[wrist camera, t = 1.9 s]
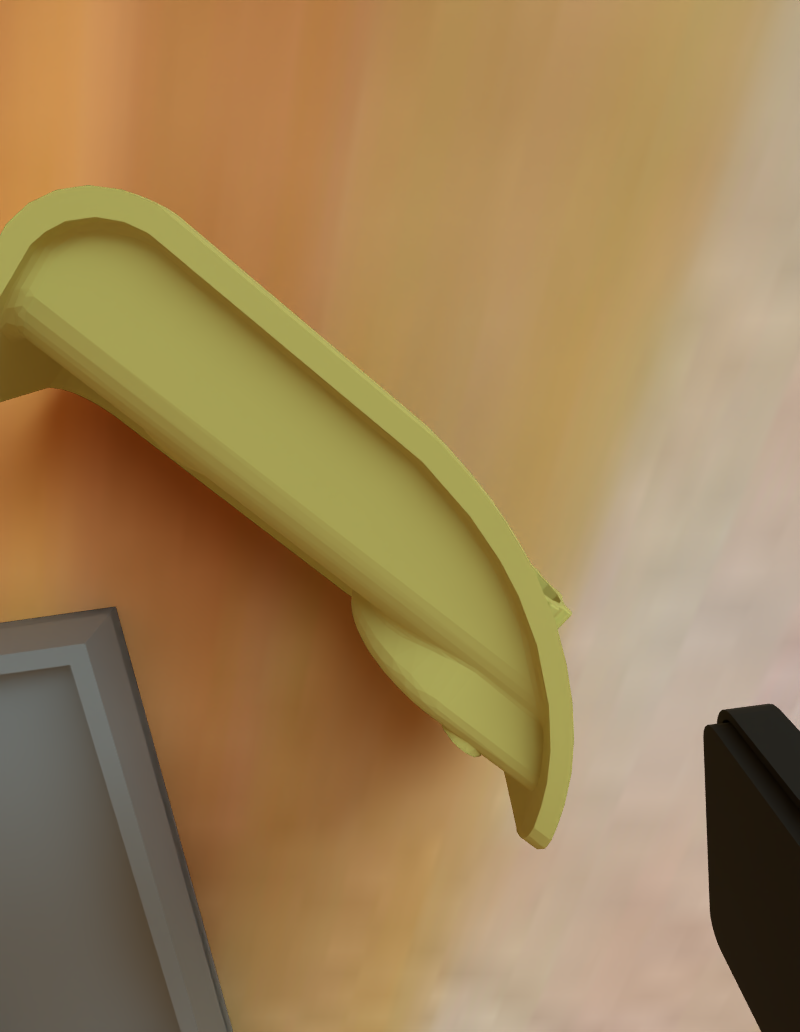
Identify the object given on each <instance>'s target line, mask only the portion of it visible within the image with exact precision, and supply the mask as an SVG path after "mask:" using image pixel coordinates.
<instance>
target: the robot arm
mask: <svg viewBox="0 0 800 1032" xmlns="http://www.w3.org/2000/svg"><path fill="white" fill-rule="evenodd" d="M704 764H705V791H706V818H707V845H708V872H709V899H710V916H711V922H712V926H713V930H714V934H715V937H716V940H717V943H718V945H719V947H720V950H721V952H722V954H723V956H724V958H725V960H726V962H727V964H728V966H729V968H730V970H731V972H732V974H733V976H734V978H735V980H736V982H737V984H738V986H739V988H740V990H741V992H742V994H743V996H744V998H745V1000H746V1002H747V1004H748V1006H749V1008H750V1010H751V1012H752V1014H753V1016H754V1018H755V1020H756V1022H757V1024H758V1026H759V1028H760V1030H761V1032H800V731H799V730H798V729H797V728H796V727H795V726H794V724H793V723H792V722H791V721H790V720H789V719H788V718H787V717H786V716H785V715H784V714H783V713H782V712H781V710H780V709H779V708H777V707H776V706H775V705H773V704H764V705H756V706H749V707H741V708H733V709H726V710H722V711H721V712H720V713H719V715H718V719H717V724H712V725H707V726H706V727H705V729H704Z"/></svg>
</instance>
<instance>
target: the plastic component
mask: <svg viewBox="0 0 800 1032" xmlns="http://www.w3.org/2000/svg"><path fill="white" fill-rule="evenodd" d="M45 388H57V389H63V390H66V391H69V392H72V393H75V394H77V395H80V396H82V397H84V398H86V399H88V400H90V401H92V402H94V403H95V404H97V405H99V406H101V407H102V408H104V409H105V410H107V411H108V412H110V413H111V414H113V415H114V416H115V417H117V418H118V419H119V420H121V421H122V422H123V423H125V424H126V425H127V426H129V427H130V428H131V429H132V430H134V431H135V432H136V433H138V434H139V435H140V436H142V437H143V438H144V439H146V440H147V441H148V442H149V443H151V444H152V445H153V446H155V447H156V448H157V449H159V450H160V451H161V452H163V453H164V454H165V455H166V456H168V457H169V458H170V459H172V460H173V461H174V462H176V463H177V464H178V465H180V466H181V467H182V468H183V469H185V470H186V471H187V472H189V473H190V474H191V475H193V476H194V477H195V478H196V479H198V480H199V481H200V482H202V483H203V484H204V485H206V486H207V487H208V488H210V489H211V490H212V491H213V492H215V493H216V494H217V495H219V496H220V497H221V498H223V499H224V500H225V501H227V502H228V503H229V504H230V505H232V506H233V507H234V508H236V509H237V510H238V511H240V512H241V513H242V514H244V515H245V516H246V517H247V518H249V519H250V520H251V521H253V522H254V523H255V524H257V525H258V526H259V527H261V528H262V529H263V530H264V531H266V532H267V533H268V534H270V535H271V536H272V537H274V538H275V539H276V540H278V541H279V542H280V543H281V544H283V545H284V546H285V547H287V548H288V549H289V550H291V551H292V552H293V553H295V554H296V555H297V556H298V557H300V558H301V559H302V560H304V561H305V562H306V563H308V564H309V565H310V566H312V567H313V568H314V569H315V570H317V571H318V572H319V573H321V574H322V575H323V576H325V577H326V578H327V579H329V580H330V581H331V582H332V583H334V584H335V585H336V586H338V587H339V588H340V589H342V590H343V591H344V592H345V593H347V594H348V595H349V596H351V597H352V598H351V607H352V615H353V618H354V621H355V625H356V627H357V629H358V632H359V634H360V636H361V638H362V640H363V642H364V643H365V645H366V647H367V649H368V651H369V652H370V654H371V655H372V656H373V658H374V659H375V660H376V662H377V663H378V664H379V666H380V667H381V668H382V670H383V671H384V672H385V673H386V675H387V676H388V677H389V678H390V679H391V680H392V681H393V682H394V684H395V685H396V686H397V687H398V688H399V689H400V690H401V691H402V692H403V693H404V694H405V695H406V696H407V697H408V698H409V699H410V700H411V701H413V702H414V703H415V704H416V705H417V706H418V707H420V708H421V709H422V710H423V711H424V712H426V713H427V714H428V715H430V716H431V717H432V718H434V719H435V720H437V721H438V722H439V723H441V724H442V727H443V729H444V731H445V732H446V734H447V735H448V736H449V738H450V739H451V741H452V742H453V743H454V744H455V745H456V746H457V747H459V748H460V749H461V750H462V751H464V752H465V753H467V754H469V755H471V756H473V757H478V756H481V754H482V755H483V756H484V757H486V758H487V759H488V760H490V761H491V762H492V763H494V764H495V765H496V766H498V767H499V768H500V769H502V770H503V771H504V774H505V778H506V782H507V787H508V791H509V796H510V800H511V805H512V809H513V814H514V818H515V823H516V828H517V833H518V834H519V836H520V837H521V838H522V839H524V840H525V841H527V842H528V843H529V844H531V845H532V846H533V847H535V848H536V849H545V848H546V847H547V845H548V844H549V843H550V841H551V840H552V837H553V835H554V833H555V830H556V828H557V825H558V823H559V820H560V817H561V814H562V811H563V808H564V805H565V800H566V796H567V791H568V787H569V782H570V778H571V772H572V759H573V745H574V729H573V705H572V697H571V691H570V684H569V677H568V671H567V664H566V660H565V657H564V653H563V649H562V645H561V641H560V637H559V634H558V630H557V629H558V628H559V627H560V626H561V625H562V624H563V623H564V622H565V621H566V620H567V619H568V618H569V617H570V616H571V614H572V612H571V611H570V610H569V609H568V608H567V607H566V606H565V605H564V603H563V600H562V595H561V594H560V593H559V592H558V591H557V590H556V589H554V588H553V587H552V586H551V585H550V584H549V583H548V582H547V581H546V580H545V579H544V578H543V577H542V576H541V574H540V572H539V571H538V570H537V569H536V568H535V567H534V566H533V565H531V563H530V561H529V559H528V557H527V556H526V554H525V552H524V550H523V548H522V546H521V545H520V543H519V541H518V540H517V538H516V536H515V535H514V533H513V531H512V530H511V528H510V526H509V525H508V523H507V521H506V520H505V519H504V517H503V516H502V514H501V513H500V511H499V510H498V508H497V507H496V506H495V504H494V503H493V501H492V500H491V498H490V497H489V496H488V494H487V493H486V492H485V491H484V489H483V488H482V487H481V486H480V484H479V483H478V482H477V481H476V479H475V478H474V477H473V475H472V474H471V473H470V472H469V471H468V470H467V468H466V467H465V466H464V465H463V464H462V463H461V462H460V460H459V459H458V458H457V457H456V456H455V455H454V454H453V453H452V451H451V450H450V449H449V448H448V447H447V446H446V445H445V444H444V443H443V442H442V441H441V440H440V439H439V438H438V437H437V436H436V435H435V434H434V433H433V432H432V431H431V430H430V429H429V428H428V427H427V426H426V425H425V424H424V423H423V422H422V421H420V420H419V419H418V418H417V417H416V416H415V415H413V414H412V413H411V412H410V411H409V410H407V409H406V408H405V407H404V406H403V405H401V404H400V403H399V402H398V401H397V400H396V399H394V398H393V397H392V396H391V395H390V394H388V393H387V392H386V391H385V390H384V389H383V388H381V387H380V386H379V385H378V384H377V383H375V382H374V381H373V380H372V379H371V378H370V377H368V376H367V375H366V374H365V373H364V372H362V371H361V370H360V369H359V368H358V367H357V366H355V365H354V364H353V363H352V362H351V361H349V360H348V359H347V358H346V357H345V356H344V355H342V354H341V353H340V352H339V351H338V350H336V349H335V348H334V347H333V346H332V345H331V344H329V343H328V342H327V341H326V340H325V339H323V338H322V337H321V336H320V335H319V334H318V333H316V332H315V331H314V330H313V329H312V328H310V327H309V326H308V325H307V324H306V323H305V322H303V321H302V320H301V319H300V318H299V317H297V316H296V315H295V314H294V313H293V312H292V311H290V310H289V309H288V308H287V307H286V306H284V305H283V304H282V303H281V302H280V301H279V300H277V299H276V298H275V297H274V296H273V295H271V294H270V293H269V292H268V291H267V290H265V289H264V288H263V287H262V286H261V285H260V284H258V283H257V282H256V281H255V280H254V279H252V278H251V277H250V276H249V275H248V274H247V273H245V272H244V271H243V270H242V269H241V268H239V267H238V266H237V265H236V264H235V263H234V262H232V261H231V260H230V259H229V258H228V257H226V256H225V255H224V254H223V253H222V252H221V251H219V250H218V249H217V248H216V247H215V246H213V245H212V244H211V243H210V242H209V241H208V240H206V239H205V238H204V237H203V236H202V235H200V234H199V233H198V232H197V231H196V230H195V229H193V228H192V227H191V226H190V225H189V224H187V223H186V222H185V221H184V220H183V219H182V218H180V217H179V216H178V215H177V214H175V213H174V212H172V211H171V210H169V209H167V208H166V207H164V206H162V205H160V204H158V203H156V202H153V201H151V200H149V199H147V198H144V197H142V196H139V195H136V194H133V193H130V192H127V191H124V190H122V189H114V188H106V187H99V186H91V185H86V186H79V187H73V188H66V189H59V190H55V191H53V192H51V193H49V194H47V195H45V196H43V197H41V198H39V199H37V200H34V201H32V202H30V203H28V204H27V205H26V206H25V207H24V208H23V209H22V210H21V211H20V212H19V213H18V214H17V215H15V216H14V217H13V218H12V219H11V220H10V221H9V222H8V223H7V224H6V226H5V227H4V229H3V231H2V233H1V234H0V402H2V401H6V400H9V399H12V398H16V397H19V396H22V395H26V394H29V393H32V392H35V391H39V390H42V389H45Z"/></svg>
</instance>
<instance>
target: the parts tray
mask: <svg viewBox="0 0 800 1032" xmlns="http://www.w3.org/2000/svg"><path fill="white" fill-rule="evenodd" d="M0 1032H233V1030H232V1027H231V1023H230V1019H229V1016H228V1012H227V1009H226V1005H225V1001H224V998H223V994H222V990H221V987H220V983H219V980H218V976H217V972H216V969H215V965H214V961H213V958H212V954H211V951H210V947H209V943H208V940H207V936H206V932H205V929H204V925H203V922H202V918H201V914H200V911H199V907H198V903H197V900H196V896H195V893H194V889H193V885H192V882H191V878H190V874H189V871H188V867H187V864H186V860H185V856H184V853H183V849H182V845H181V842H180V838H179V835H178V831H177V827H176V824H175V820H174V816H173V813H172V809H171V805H170V802H169V798H168V795H167V791H166V787H165V784H164V780H163V776H162V773H161V769H160V766H159V762H158V758H157V755H156V751H155V747H154V744H153V740H152V737H151V733H150V729H149V726H148V722H147V718H146V715H145V711H144V708H143V704H142V700H141V697H140V693H139V689H138V686H137V682H136V679H135V675H134V671H133V668H132V664H131V660H130V657H129V653H128V650H127V646H126V642H125V639H124V635H123V631H122V628H121V624H120V620H119V617H118V613H117V610H116V607H110V608H103V609H96V610H89V611H81V612H74V613H67V614H60V615H53V616H46V617H39V618H32V619H25V620H18V621H10V622H3V623H0Z"/></svg>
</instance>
